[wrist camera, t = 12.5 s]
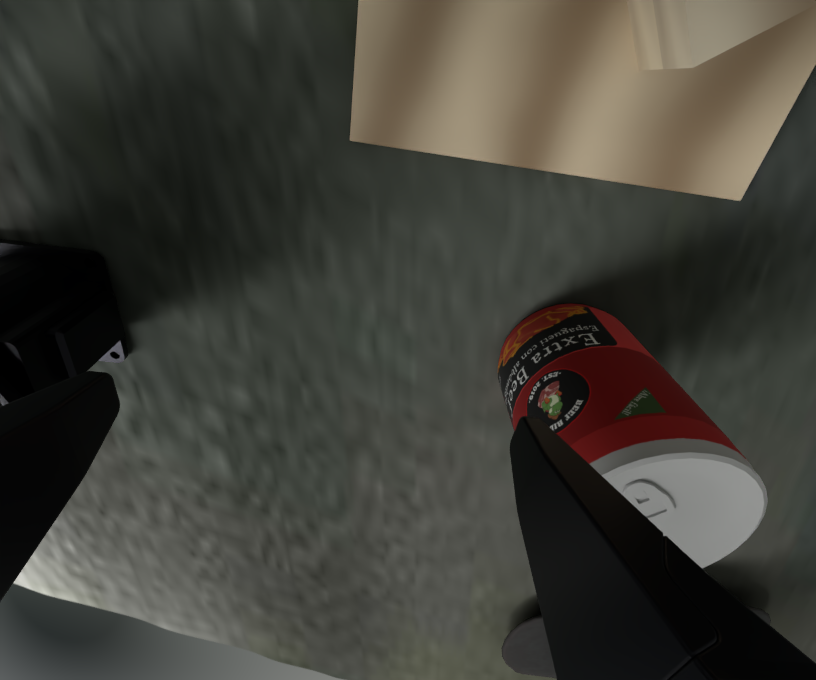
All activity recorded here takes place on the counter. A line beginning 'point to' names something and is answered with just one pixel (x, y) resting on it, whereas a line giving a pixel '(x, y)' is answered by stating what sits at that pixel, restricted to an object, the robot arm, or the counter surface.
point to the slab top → (715, 26)
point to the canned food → (632, 427)
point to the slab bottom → (645, 34)
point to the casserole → (544, 647)
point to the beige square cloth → (571, 92)
